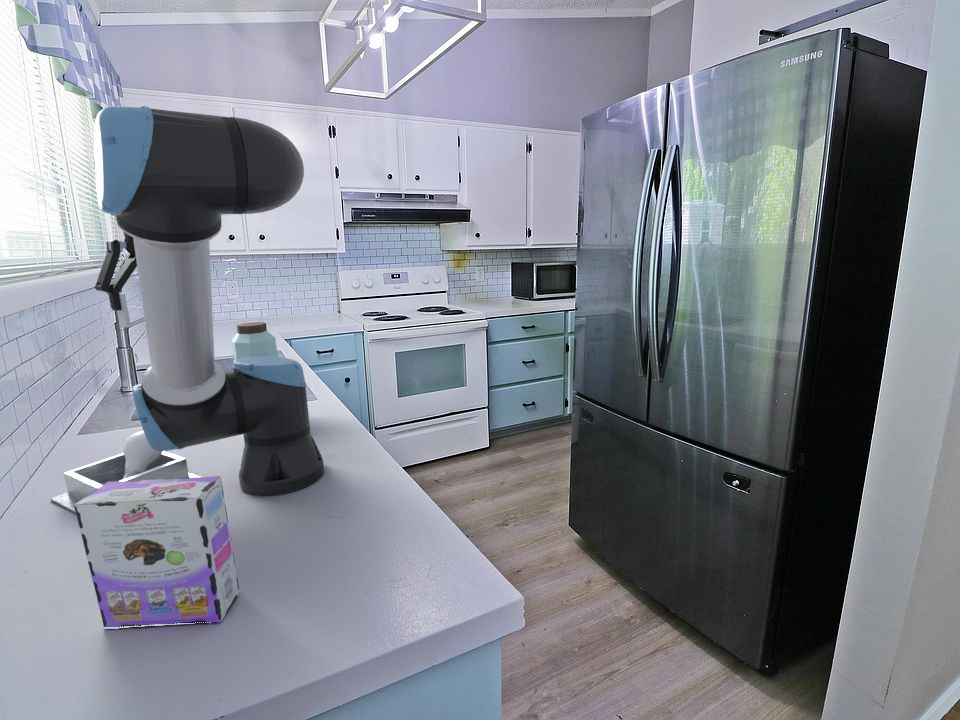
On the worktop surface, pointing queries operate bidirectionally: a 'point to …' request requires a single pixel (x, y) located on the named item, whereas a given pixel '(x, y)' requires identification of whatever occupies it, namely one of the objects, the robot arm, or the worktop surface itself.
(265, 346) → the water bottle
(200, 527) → the candy box
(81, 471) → the flange
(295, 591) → the worktop surface
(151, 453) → the lightbulb
